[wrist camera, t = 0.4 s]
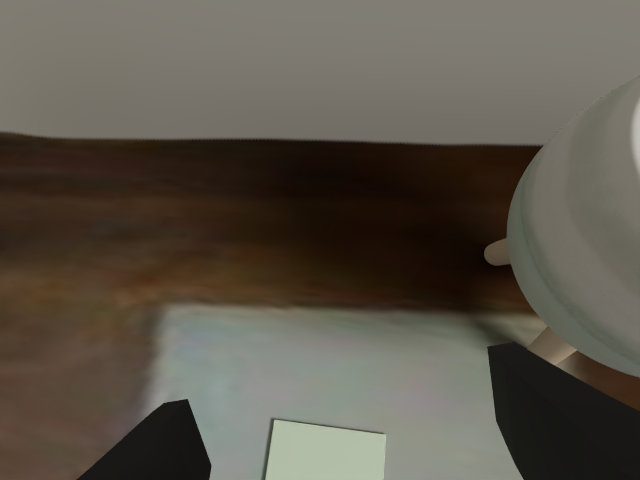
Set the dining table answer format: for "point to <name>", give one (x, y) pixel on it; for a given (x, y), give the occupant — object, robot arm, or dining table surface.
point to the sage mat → (324, 453)
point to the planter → (582, 235)
